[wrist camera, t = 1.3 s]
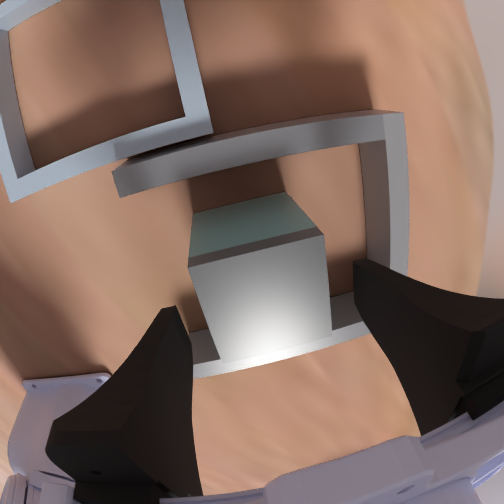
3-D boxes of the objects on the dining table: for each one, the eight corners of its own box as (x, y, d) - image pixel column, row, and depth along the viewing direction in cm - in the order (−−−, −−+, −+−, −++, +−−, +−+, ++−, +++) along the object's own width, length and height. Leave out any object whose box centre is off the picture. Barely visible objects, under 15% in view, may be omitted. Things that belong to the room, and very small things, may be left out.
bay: (194, 345, 20) (194, 378, 18) (128, 160, 15) (111, 171, 12) (382, 296, 21) (403, 321, 18) (373, 109, 15) (403, 112, 12)
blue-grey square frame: (28, 192, 14) (10, 203, 13) (-6, 26, 9) (-24, 22, 8) (212, 130, 15) (213, 132, 13) (172, -53, 10) (168, -70, 8)
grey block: (216, 291, 19) (222, 364, 13) (193, 213, 17) (187, 267, 11) (298, 271, 19) (332, 335, 14) (285, 191, 17) (323, 234, 11)
